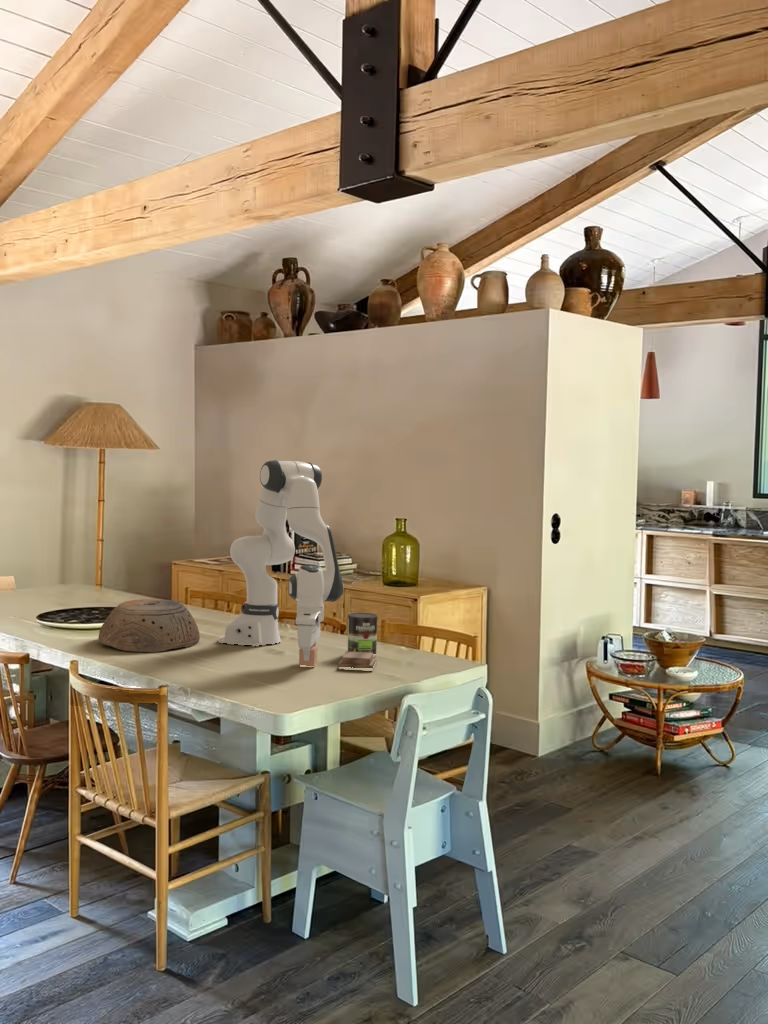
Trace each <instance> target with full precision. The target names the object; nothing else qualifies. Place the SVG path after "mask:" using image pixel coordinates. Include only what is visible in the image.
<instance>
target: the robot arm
mask: <svg viewBox="0 0 768 1024" xmlns="http://www.w3.org/2000/svg"><path fill="white" fill-rule="evenodd" d="M259 471H260V472H259V481H260V484H261V488H260V492H259V497H258V500H257V505H256V509H255V515H254V517H255V521H256V523H257V524H258V525H259V526H260V527H262V528H263V532H262V534H261V535H246V536H243V537H240V538H236V539H235V540H233V542H232V543H231V545H230V550H229V554H230V558H231V560H232V562H233V564H235V565H236V566H237V567H238V568H239V569H240V571H241V572H242V574H243V576H244V579H245V583H246V584H245V585H246V601H245V602H243V603H242V604H241V606H240V610H241V613H240V614H238V615H237V616H235V617H234V618H233V619H232V620H230V621H229V622H228V623H227V625H226V627H225V630H224V634H223V635H221V636H220V637H218V641H217V642H218V643H219V644H223V643H227V645H234V644H238V645H237V646H244V645H252V646H251V647H255V646H256V647H260V646H259V645H262V646H267V645H266V644H272V645H276V644H275V643H277V644H279V642H280V643H281V642H282V639H281V637H280V630H279V623H278V622H279V621H278V619H279V609H280V608H279V603H278V581H277V580H276V579H275V578H274V577H272V576H270V575H269V574H268V572H267V566H274V565H275V566H277V565H282V564H285V563H288V562H290V561H291V560H292V559H293V558H294V556H295V552H296V546H295V543H294V541H293V539H292V538H291V537H290V536H289V534H288V532H287V527H286V523H288V526H289V528H290V529H291V530H292V531H293V532H294V533H295V534H296V535H299V537H302V538H305V539H308V540H311V541H313V542H315V543H316V544H318V546H320V549H321V552H322V556H323V561H324V565H325V571H323V567H321V566H320V565H317V564H312V563H307V564H303V565H300V566H299V568H298V572H295V573H293V574H292V575H291V576H289V579H288V593H287V594H288V596H289V597H290V598H291V599H293V600H294V601H296V602H297V603H296V616H295V625H297V645H298V648H299V649H300V648H301V649H303V654H304V660H305V661H309V659H310V647H317V641H318V640H319V639H320V637H321V622H323V621H324V620H325V615H324V613H325V605H324V604H325V603H324V602H329V603H335V602H337V601H338V600H339V599H340V598H342V596H343V594H344V589H345V588H344V586H345V585H344V581H343V577H342V574H341V570H340V566H339V562H338V561H339V560H338V557H337V549H336V548H335V547H336V546H335V542H334V537H333V532H332V530H331V528H330V525H328V524H326V523H325V522H324V520H323V518H322V515H321V510H320V508H321V507H320V497H319V491H318V489H319V488H320V487H321V484H322V481H323V473H322V470H321V468H320V467H319V465H317V464H315V463H312V462H304V461H297V460H276V459H274V460H269V461H264V463H263V465H262V466H261V468H260V470H259Z"/></svg>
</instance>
